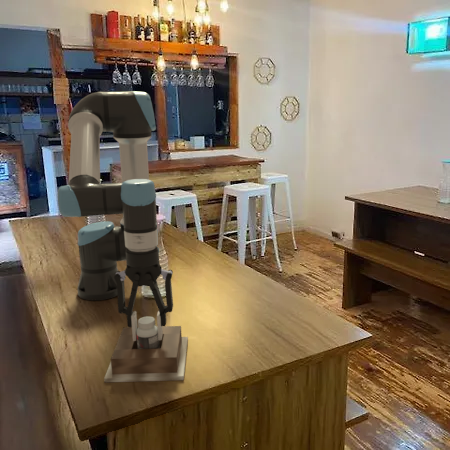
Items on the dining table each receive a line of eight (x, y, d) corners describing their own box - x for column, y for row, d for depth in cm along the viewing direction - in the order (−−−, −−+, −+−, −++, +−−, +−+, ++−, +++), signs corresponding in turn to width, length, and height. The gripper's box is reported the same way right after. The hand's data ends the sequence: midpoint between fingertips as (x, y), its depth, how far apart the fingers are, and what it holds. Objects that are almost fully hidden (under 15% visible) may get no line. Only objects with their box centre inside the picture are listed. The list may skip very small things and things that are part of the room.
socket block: (104, 382, 103) (102, 362, 102) (120, 341, 120) (118, 324, 119) (183, 380, 103) (182, 360, 102) (187, 340, 121) (187, 323, 119)
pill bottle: (133, 357, 111) (130, 320, 108) (150, 348, 115) (147, 312, 112) (148, 364, 108) (145, 327, 105) (165, 354, 112) (162, 318, 109)
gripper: (97, 253, 100) (106, 346, 106) (180, 251, 101) (184, 344, 107) (105, 243, 108) (113, 331, 114) (183, 241, 108) (186, 329, 114)
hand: (148, 337), depth 110 cm, fingers closed on pill bottle, 5 cm apart
